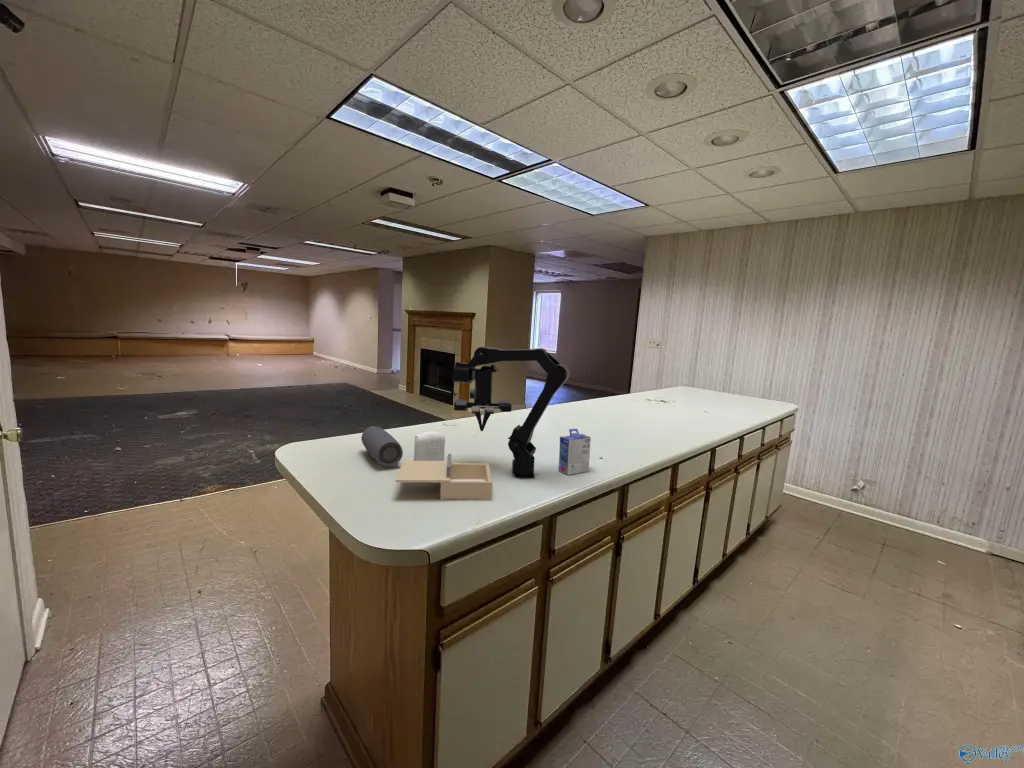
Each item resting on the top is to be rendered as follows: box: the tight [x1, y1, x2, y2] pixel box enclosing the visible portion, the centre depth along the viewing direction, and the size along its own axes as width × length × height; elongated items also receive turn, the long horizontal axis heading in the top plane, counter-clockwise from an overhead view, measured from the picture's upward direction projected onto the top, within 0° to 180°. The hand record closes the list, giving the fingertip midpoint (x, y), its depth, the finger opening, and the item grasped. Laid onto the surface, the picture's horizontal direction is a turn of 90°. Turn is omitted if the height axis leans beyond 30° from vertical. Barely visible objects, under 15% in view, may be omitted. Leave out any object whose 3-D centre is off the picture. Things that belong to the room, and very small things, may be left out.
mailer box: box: [440, 462, 493, 501], centre depth 122 cm, size 14×16×5 cm
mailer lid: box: [395, 453, 452, 483], centre depth 120 cm, size 14×16×4 cm
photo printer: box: [413, 430, 446, 461], centre depth 137 cm, size 10×4×12 cm, turn 123°
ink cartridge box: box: [558, 428, 592, 476], centre depth 141 cm, size 10×6×14 cm, turn 122°
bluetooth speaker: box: [360, 425, 404, 467], centre depth 143 cm, size 23×9×10 cm, turn 32°
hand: (481, 430), depth 139 cm, fingers closed
